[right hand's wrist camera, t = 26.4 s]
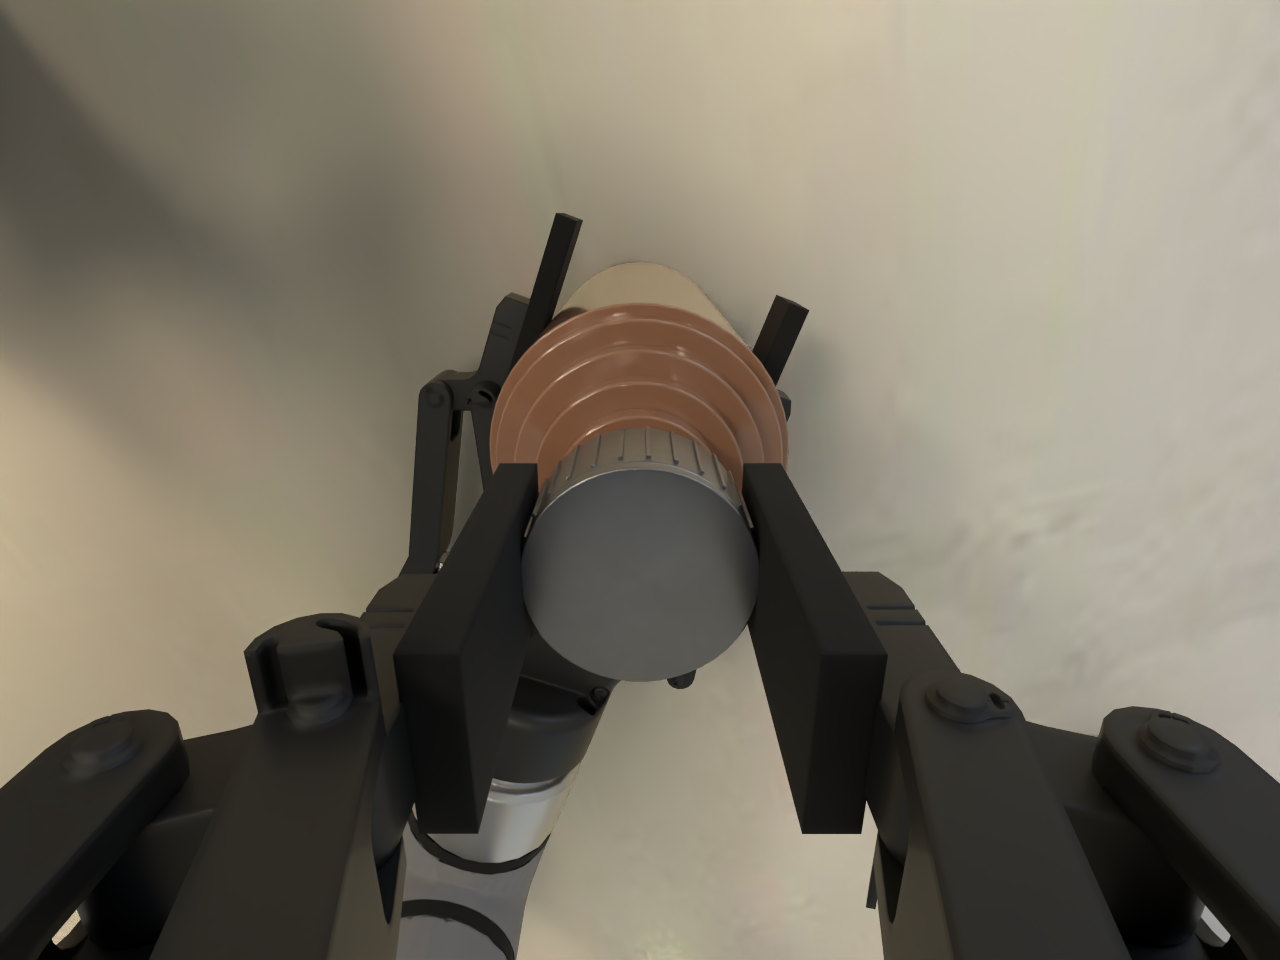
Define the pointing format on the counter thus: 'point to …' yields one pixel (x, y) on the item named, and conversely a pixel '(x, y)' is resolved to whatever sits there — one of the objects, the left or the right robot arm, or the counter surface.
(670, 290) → the tan bottle
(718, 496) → the cap
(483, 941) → the left robot arm
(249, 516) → the counter surface
